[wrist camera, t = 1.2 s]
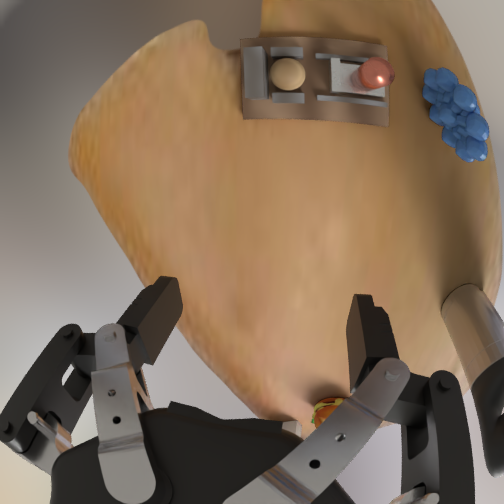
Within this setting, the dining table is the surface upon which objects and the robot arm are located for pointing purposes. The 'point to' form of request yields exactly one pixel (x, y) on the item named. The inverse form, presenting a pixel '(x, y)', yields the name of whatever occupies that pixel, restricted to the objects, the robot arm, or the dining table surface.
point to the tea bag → (293, 427)
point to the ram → (360, 77)
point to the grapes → (456, 114)
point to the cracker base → (308, 81)
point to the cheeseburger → (324, 410)
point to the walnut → (287, 74)
